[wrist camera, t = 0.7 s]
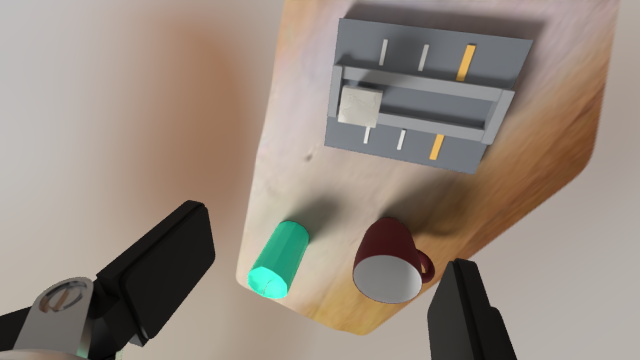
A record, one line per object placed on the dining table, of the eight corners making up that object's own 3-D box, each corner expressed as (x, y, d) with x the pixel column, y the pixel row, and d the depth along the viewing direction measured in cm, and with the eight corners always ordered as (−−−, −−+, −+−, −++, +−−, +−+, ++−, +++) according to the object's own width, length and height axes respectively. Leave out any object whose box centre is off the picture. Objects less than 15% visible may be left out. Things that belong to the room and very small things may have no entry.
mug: (444, 221, 38) (458, 277, 29) (420, 260, 42) (427, 319, 33) (370, 197, 39) (363, 245, 30) (355, 238, 43) (344, 290, 35)
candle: (313, 229, 44) (288, 289, 34) (303, 254, 47) (278, 315, 37) (279, 215, 45) (244, 270, 34) (272, 240, 48) (238, 298, 37)
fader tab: (351, 77, 30) (342, 87, 25) (385, 82, 29) (382, 93, 24) (347, 106, 31) (337, 121, 26) (378, 112, 31) (375, 128, 26)
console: (342, 18, 29) (336, 17, 26) (524, 39, 26) (541, 40, 23) (327, 140, 36) (321, 150, 33) (470, 167, 33) (477, 180, 30)
